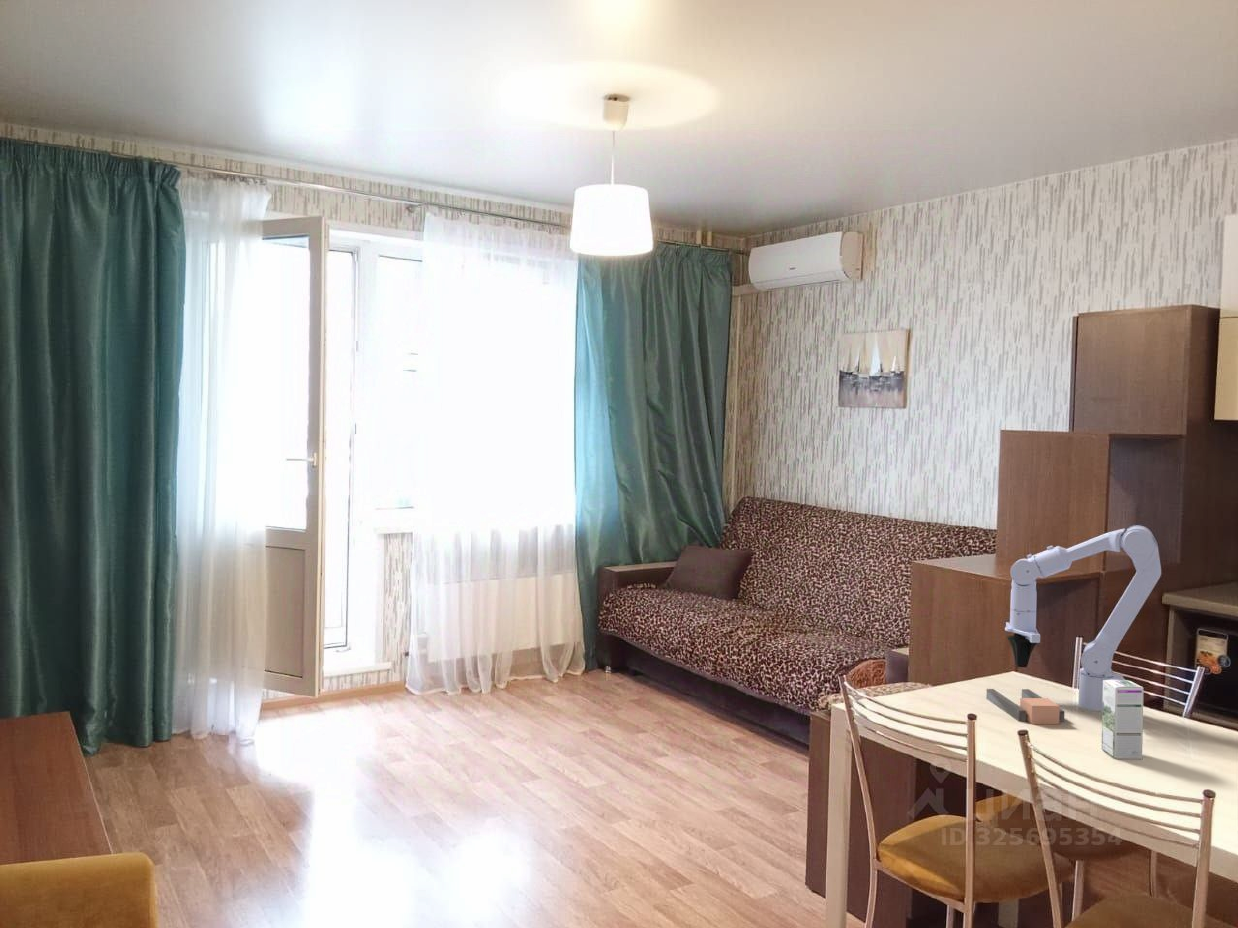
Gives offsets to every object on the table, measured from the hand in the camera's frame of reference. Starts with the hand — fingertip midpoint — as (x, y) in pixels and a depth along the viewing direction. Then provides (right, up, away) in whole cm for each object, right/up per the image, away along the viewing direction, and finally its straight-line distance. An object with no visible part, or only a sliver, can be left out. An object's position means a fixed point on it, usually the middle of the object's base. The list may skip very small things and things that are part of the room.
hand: (1021, 666), depth 235 cm
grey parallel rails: (-4, -9, -11) cm, 14 cm away
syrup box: (+5, -10, -38) cm, 39 cm away
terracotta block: (-4, -8, -19) cm, 21 cm away
